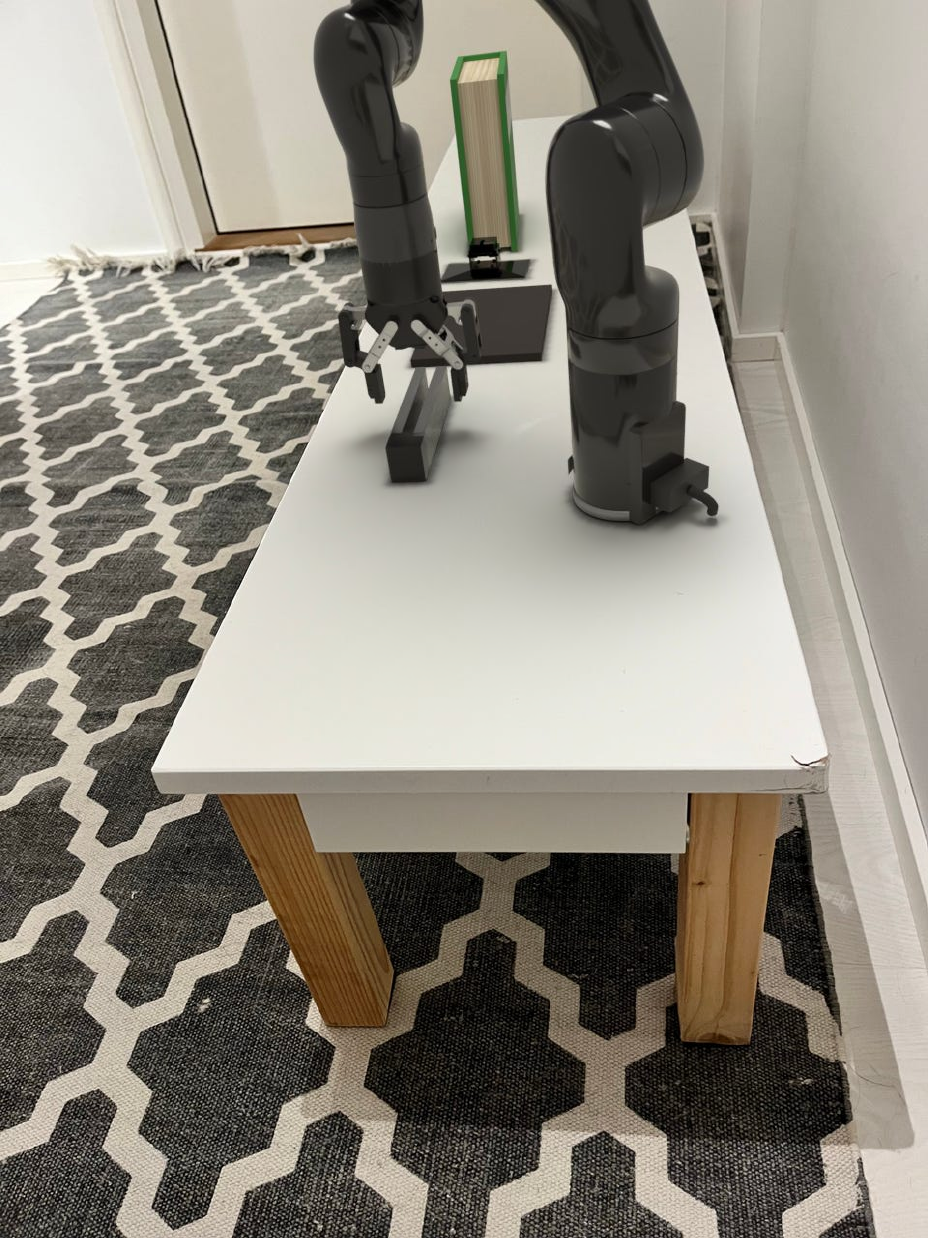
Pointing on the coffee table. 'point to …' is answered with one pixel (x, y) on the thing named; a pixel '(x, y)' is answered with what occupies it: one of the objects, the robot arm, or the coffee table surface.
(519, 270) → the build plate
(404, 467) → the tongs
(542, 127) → the coffee table surface
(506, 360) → the mat
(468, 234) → the hardback book
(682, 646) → the coffee table surface
